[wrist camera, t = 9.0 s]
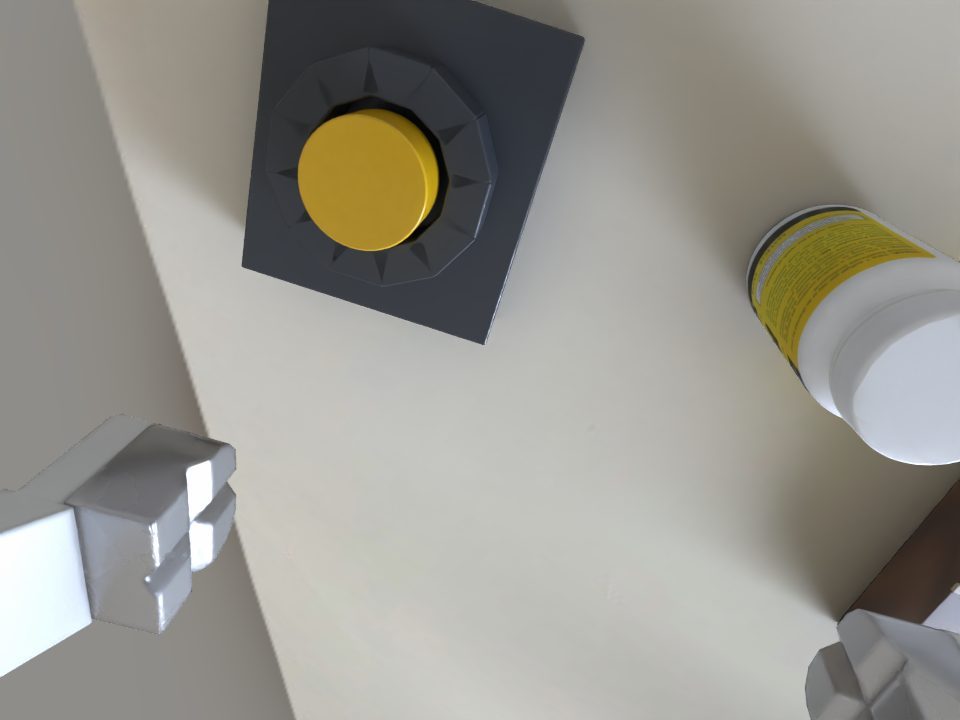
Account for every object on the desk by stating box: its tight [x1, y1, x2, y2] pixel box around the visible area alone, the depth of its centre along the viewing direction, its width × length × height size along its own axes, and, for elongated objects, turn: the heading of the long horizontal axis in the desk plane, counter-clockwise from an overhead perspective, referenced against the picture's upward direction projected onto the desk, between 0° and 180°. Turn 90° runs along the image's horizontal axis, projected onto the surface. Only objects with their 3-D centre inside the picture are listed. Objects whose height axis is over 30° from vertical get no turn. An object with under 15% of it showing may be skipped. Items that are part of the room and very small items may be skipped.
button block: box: [242, 0, 585, 345], centre depth 20 cm, size 10×9×4 cm
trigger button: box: [298, 109, 440, 251], centre depth 17 cm, size 4×4×2 cm
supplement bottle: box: [746, 204, 960, 465], centre depth 17 cm, size 5×5×8 cm
